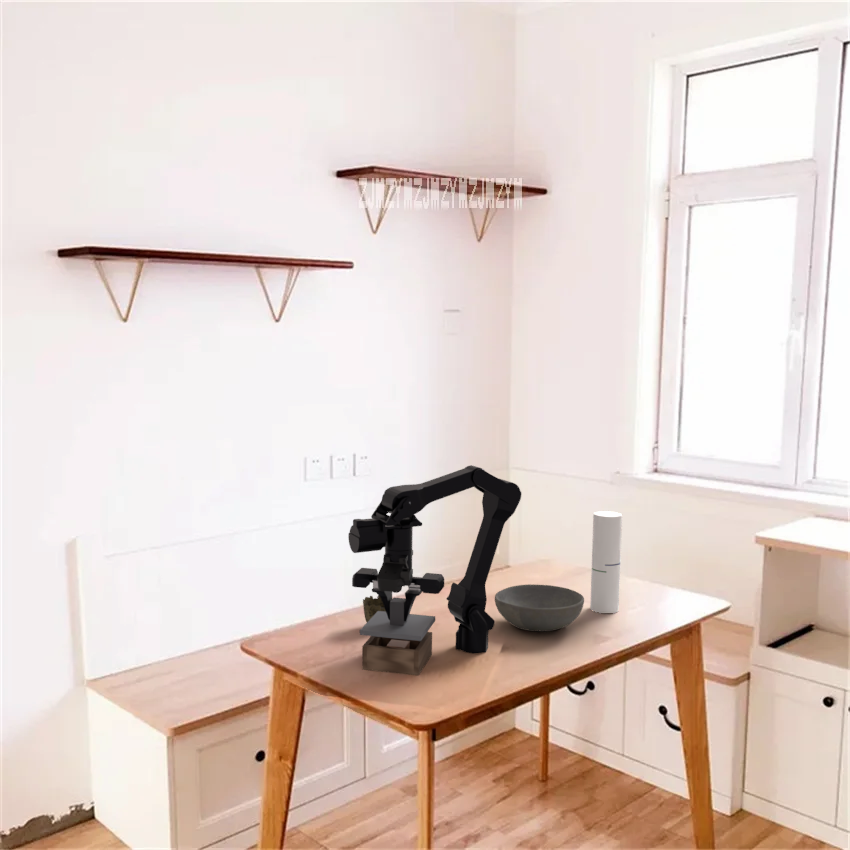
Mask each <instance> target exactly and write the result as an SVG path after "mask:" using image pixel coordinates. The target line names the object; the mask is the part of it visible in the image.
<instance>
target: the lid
mask: <svg viewBox="0 0 850 850" xmlns="http://www.w3.org/2000/svg"><path fill="white" fill-rule="evenodd" d="M405 600H406V597H405V598H403V597H392V600H391V601H390V620H389V619H388V616H387V613H386V612H384V611H377V612H376V614H375V615H374V616H373V617H372V618H371V619H370V620H369V621H368V622H366V623H365V624H364V625H363V626H362V627H361V628H360V629H359V635H360V636H366V637H367V636H368V637H371V636H376V637H385V638H395V639H405V640H415V641H421V640H422V639H423V637H424V636H425V635H426V633H427V632H429V631H430V628H431V629H432V626H433V624H435V622H436V615H435V616H433V615H426V614H425V615H424V614H413V613H410V614H409V616H408V619H407V621H404V610H405Z"/></svg>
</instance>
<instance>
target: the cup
mask: <svg viewBox="0 0 850 850" xmlns="http://www.w3.org/2000/svg"><path fill="white" fill-rule="evenodd" d="M362 605H363V614H364V618H365V622H366V623H367V622H368V621H369V620H370V619H371V618H372V617H373V616H374V615H375V614H376V612H377V611H384V612H386V610H385V607H384V605H383V602H382V600H381V598H380V596H379V595H378V594H377V598H376V597H375V598H374V597H373V595H370V596H369V597H368V596H365V598H364V599H362Z"/></svg>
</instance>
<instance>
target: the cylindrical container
mask: <svg viewBox="0 0 850 850" xmlns="http://www.w3.org/2000/svg"><path fill="white" fill-rule="evenodd" d="M592 514H593V516H592V519H593V521H592V543H591V544H592V545H591V546H592V549H591V550H592V551H591V572H590V573H591V574H590V576H591V577H590V578H591V579H590V605H589V609H590V610H591V611H592V610H593V611H592V612H594V611H595V612H594V613H597V612H599V613H598V614H601V613H613V614H617V613H618V612H619V611H618V610H619V605H620V584H621V583H620V582H621V581H620V580H621V559H622V558H621V557H622V555H621V554H622V553H621V552H622V530H623V529H622V527H623V514H622V513H621V512H617V511H609V510H600V511H599V510H598V511H595V512H593V513H592ZM616 612H617V613H616Z"/></svg>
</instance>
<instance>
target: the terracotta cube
mask: <svg viewBox="0 0 850 850" xmlns="http://www.w3.org/2000/svg"><path fill="white" fill-rule="evenodd" d="M386 647H394V648H404V649H410V641H402V640H391V641H390V642H389V643H388V645H387V646H386Z"/></svg>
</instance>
